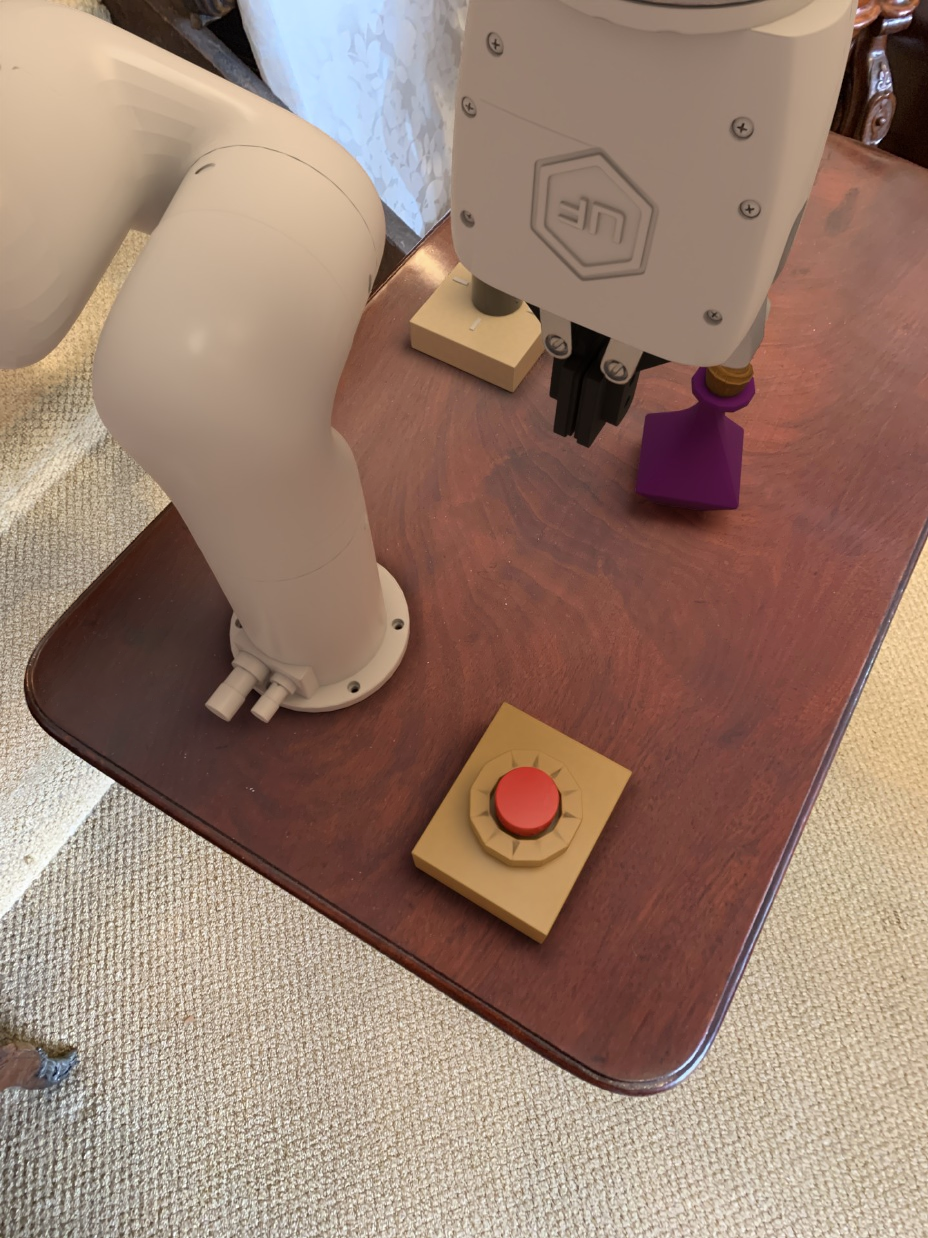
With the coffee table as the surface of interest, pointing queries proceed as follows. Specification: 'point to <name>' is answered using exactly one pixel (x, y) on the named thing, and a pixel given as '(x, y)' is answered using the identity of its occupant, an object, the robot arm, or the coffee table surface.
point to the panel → (476, 334)
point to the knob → (492, 299)
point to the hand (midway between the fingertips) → (587, 416)
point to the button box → (506, 862)
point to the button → (526, 801)
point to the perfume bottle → (698, 444)
